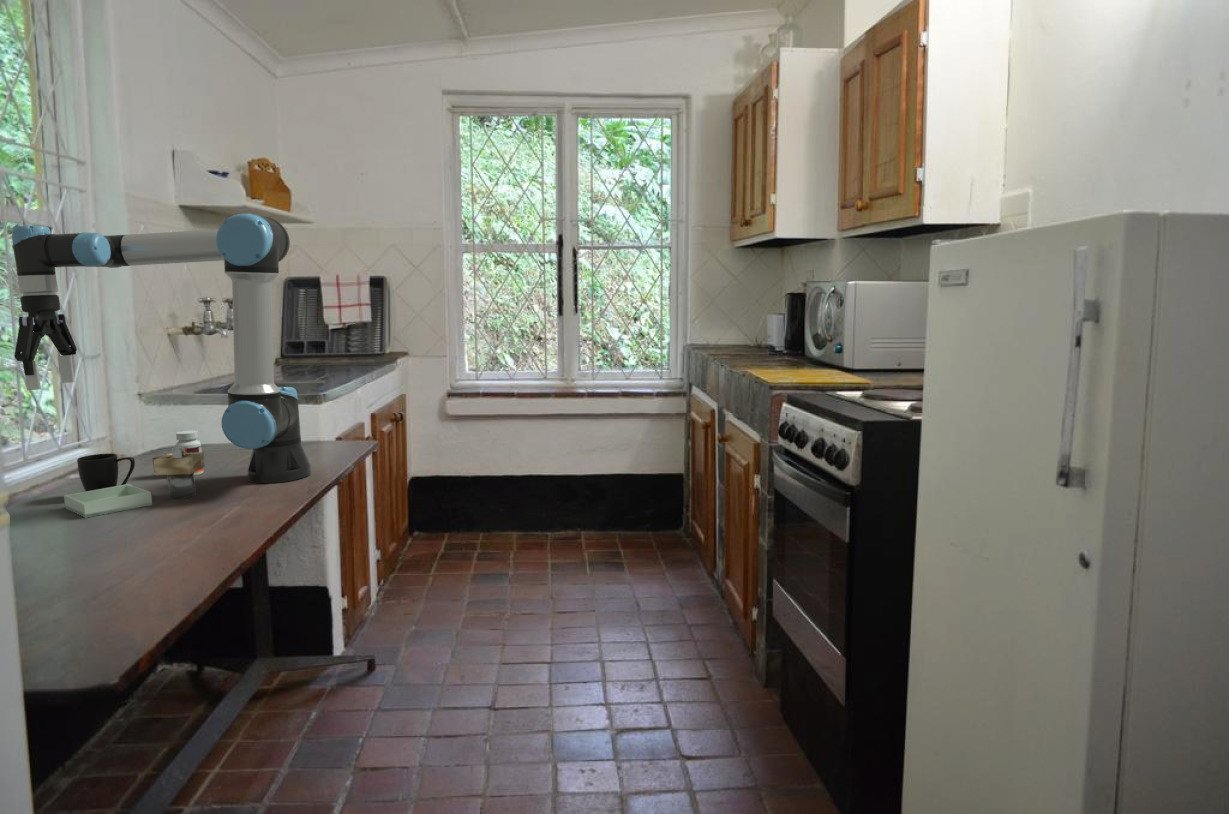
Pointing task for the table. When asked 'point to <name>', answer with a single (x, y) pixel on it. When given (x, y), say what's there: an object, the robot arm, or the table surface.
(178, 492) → the grey piece
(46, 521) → the table surface
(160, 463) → the wooden rectangular frame
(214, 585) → the table surface
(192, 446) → the pill bottle
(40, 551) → the table surface
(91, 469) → the mug
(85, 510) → the tray
